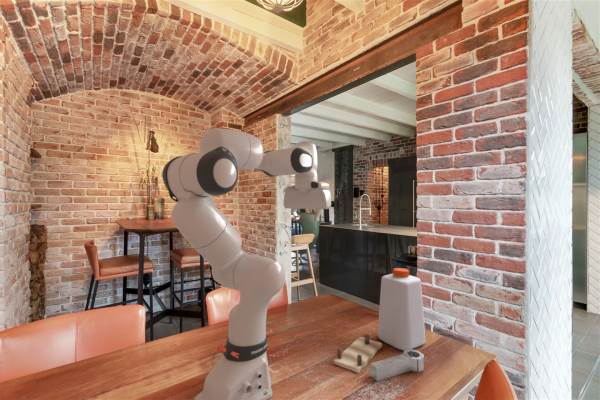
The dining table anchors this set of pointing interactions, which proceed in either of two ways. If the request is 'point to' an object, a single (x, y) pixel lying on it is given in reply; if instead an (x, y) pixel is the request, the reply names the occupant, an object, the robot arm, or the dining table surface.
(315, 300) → the dining table surface
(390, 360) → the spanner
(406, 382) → the dining table surface
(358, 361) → the peg board
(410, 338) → the plastic bottle
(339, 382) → the dining table surface
